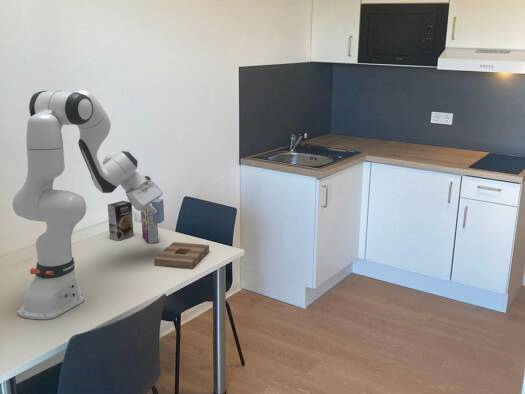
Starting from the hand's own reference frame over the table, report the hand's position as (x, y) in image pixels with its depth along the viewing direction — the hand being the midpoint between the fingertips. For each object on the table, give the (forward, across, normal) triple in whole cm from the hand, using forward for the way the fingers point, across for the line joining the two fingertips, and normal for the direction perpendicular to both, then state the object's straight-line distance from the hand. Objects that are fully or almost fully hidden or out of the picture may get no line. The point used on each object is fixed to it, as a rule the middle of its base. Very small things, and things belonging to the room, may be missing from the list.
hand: (159, 210), depth 228 cm
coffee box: (-5, +18, +34) cm, 39 cm away
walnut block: (+21, 0, +7) cm, 22 cm away
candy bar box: (+5, +18, +24) cm, 30 cm away
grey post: (+3, 0, +4) cm, 5 cm away
